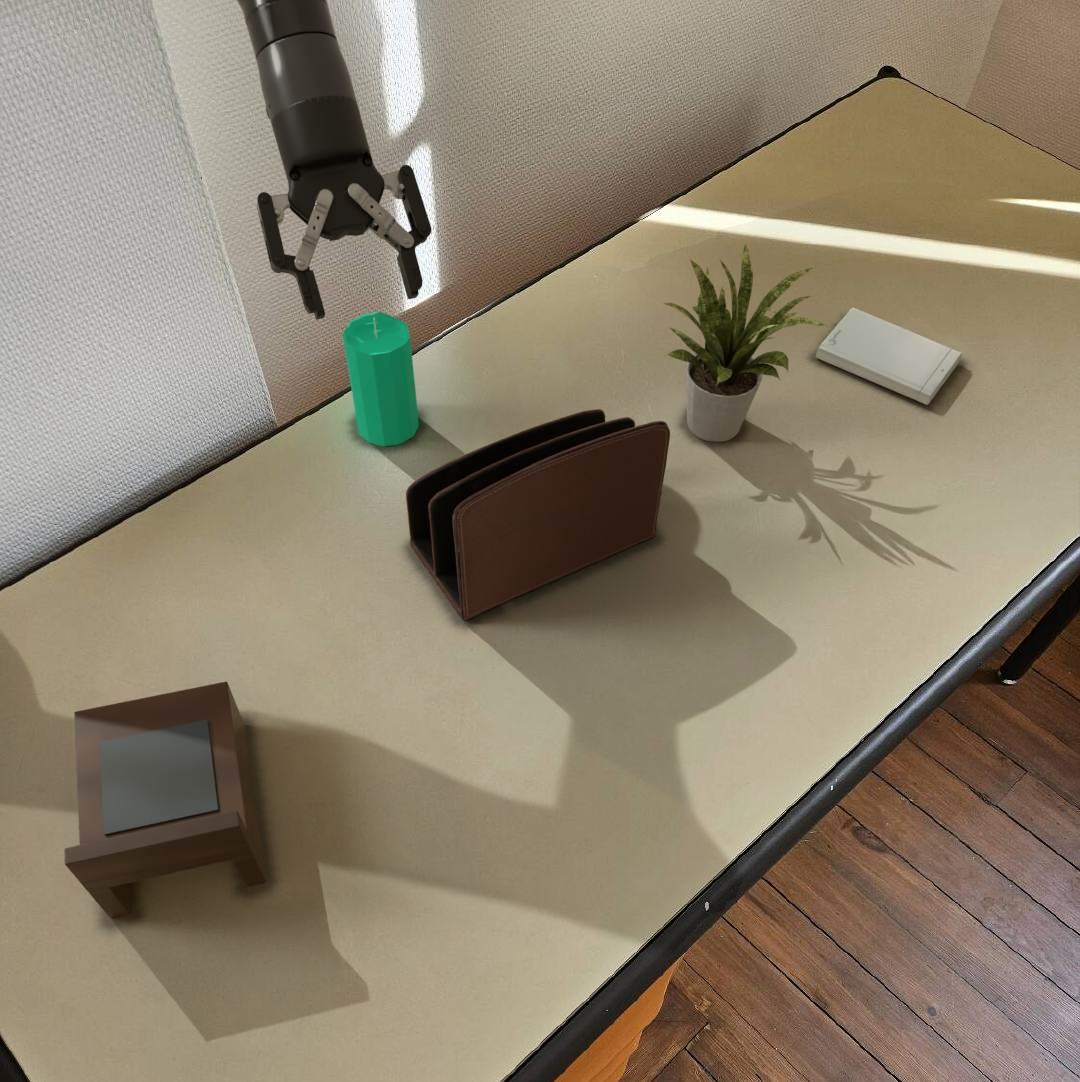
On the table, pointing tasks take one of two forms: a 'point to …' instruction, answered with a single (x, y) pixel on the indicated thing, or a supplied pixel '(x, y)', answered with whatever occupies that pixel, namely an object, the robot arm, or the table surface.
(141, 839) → the wooden side table
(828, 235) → the table surface
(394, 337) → the candle
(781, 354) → the house plant
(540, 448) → the letter holder
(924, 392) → the hard drive
